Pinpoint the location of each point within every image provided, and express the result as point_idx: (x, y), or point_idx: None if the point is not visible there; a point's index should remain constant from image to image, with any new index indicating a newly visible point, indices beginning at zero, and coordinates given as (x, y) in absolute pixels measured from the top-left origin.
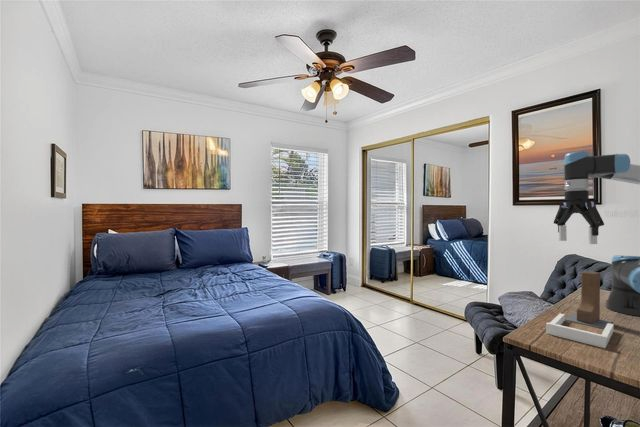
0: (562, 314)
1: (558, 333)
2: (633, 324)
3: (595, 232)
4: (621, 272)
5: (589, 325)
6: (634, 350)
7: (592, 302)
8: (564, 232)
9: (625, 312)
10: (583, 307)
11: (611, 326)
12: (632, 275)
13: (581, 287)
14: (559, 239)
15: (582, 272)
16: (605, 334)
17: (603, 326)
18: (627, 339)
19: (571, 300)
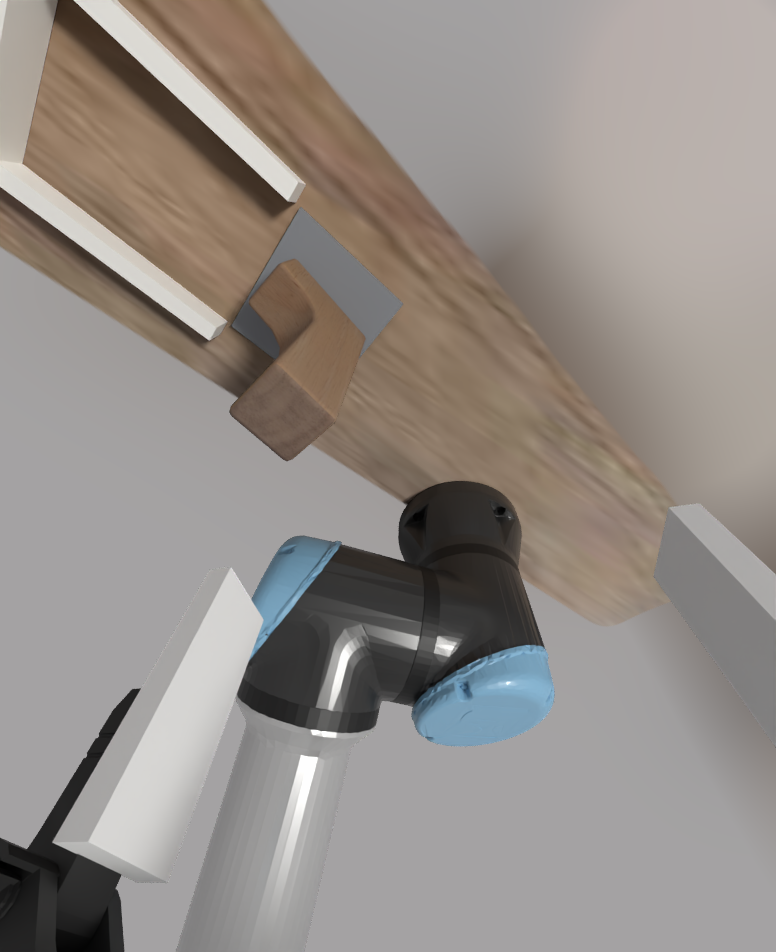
0: (279, 183)
1: None
2: (319, 447)
3: (100, 746)
4: (405, 592)
5: (257, 282)
6: (45, 275)
7: (284, 344)
8: (750, 674)
9: (420, 496)
10: (292, 301)
11: (176, 314)
12: (291, 570)
13: (302, 333)
14: (703, 516)
15: (272, 365)
16: (53, 217)
17: (251, 326)
18: (152, 327)
19: (588, 427)
